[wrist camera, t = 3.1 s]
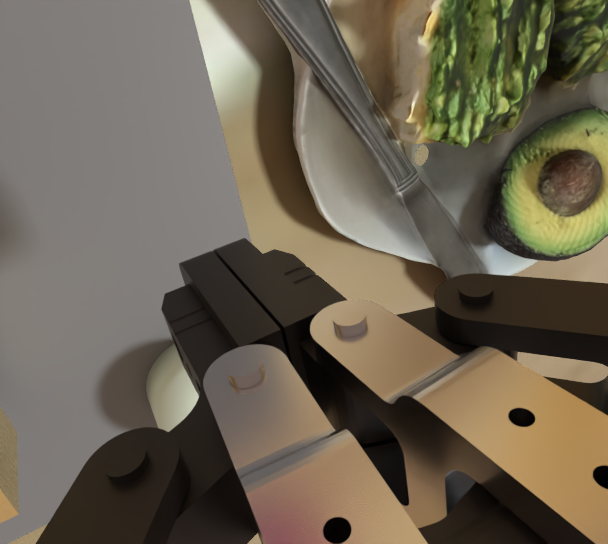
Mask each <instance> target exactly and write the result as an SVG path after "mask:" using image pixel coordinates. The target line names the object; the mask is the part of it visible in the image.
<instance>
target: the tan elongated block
mask: <svg viewBox="0 0 608 544" xmlns="http://www.w3.org/2000/svg"><path fill="white" fill-rule="evenodd" d="M18 514H19V505H18V460H17V431H16V430H15V428H14V426H13V425H12V423H11V422H10V420H9V419H8V417H7V416H6V414H5V413H4V411H3V410H2V408H1V407H0V523H2V522H4V521H6V520H8V519H10V518H12V517H14V516H16V515H18Z"/></svg>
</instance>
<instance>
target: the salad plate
mask: <svg viewBox="0 0 608 544" xmlns="http://www.w3.org/2000/svg"><path fill="white" fill-rule="evenodd" d="M257 2H258V3H259V5H260V7H261V8H262V9H263V11H264V12H265V14H266V15H267V17H268V18H269V20H270V21H271V22H272V24H273V25H274V27H275V28H276V30H277V32H278V33H279V34H280V36H281V37H282V39H283V40H284V42H285V43H286V45H287V47H288V49H289V51H290V53H291V57H292V62H293V68H294V73H295V80H294V108H293V113H294V114H293V138H294V144H295V147H296V150H297V152H298V155H299V159H300V163H301V166H302V170H303V173H304V176H305V179H306V182H307V185H308V187H309V189H310V192H311V194H312V196H313V198H314V202H315V205H316V208H317V210H318V212H319V213H320V214H321V215H322V216H323V217H324V218H325V219H326V220H327V222H328V223H329V224H330V225H331V226H332V227H333V228H334V229H335V230H336V231H337V232H338V233H340V234H342V235H344V236H346V237H347V238H349V239H351V240H353V241H355V242H357V243H359V244H362V245H364V246H367V247H369V248H373V249H375V250H380V251H384V252H386V253H390V254H394V255H396V256H400V257H404V258H406V259H409V260H413V261H418V262H422V263H428V264H433V265H435V266H437V267H439V268H441V269H442V271H443V272H444V274H445V275H446V278H447V280H448V279H450V278H452V277H455V276H459V275H463V274H472V273H481V274H494V275H507V276H512V275H514V274H516V273H518V272H520V271H522V270H524V269H526V268H528V267H530V266H531V265H533V264H534V263H536V262H537V261H539V260H545V261H559V260H565V259H569V258H571V257H574V256H578V255H580V254H582V253H585V252H587V251H589V250H591V249H592V248H593V247H594V246H596V245H597V244H598V243H599V242H601V241H602V240H603V239H604V238H605V237H606V236H608V0H257ZM422 144H424V145H426V146H427V148H428V150H429V154H428V159H427V160H426V162H425V163H424V164H423V165H422V166H418V165H417V164H416V163H415V160H414V156H415V153H416V151H417V149H418V148H419V147H420V146H421V145H422Z"/></svg>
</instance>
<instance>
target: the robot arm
mask: <svg viewBox="0 0 608 544" xmlns="http://www.w3.org/2000/svg"><path fill="white" fill-rule="evenodd" d="M179 268H180V271H181V275H182V278H183V280H184V283H185V286H183V287H180V288H178V289H175V290H173V291H170V292H168V293H165V295H164V299H163V304H162V308H161V310H162V312H163V315H164V318H165V320H166V323H167V325H168V328H169V331H170V333H171V336H172V338H173V341H174V344H175V346H176V349H177V351H178V354H179V357H180V359H181V362H182V364H183V367H184V368H185V370H186V372H187V374H188V376H189V378H190V380H191V382H192V384H193V386H194V388H195V390H196V392H197V393H198V396H199V398H198V401H197V403H196V405H195V406H194V408H193V409H192V411H191V412H190V413H189V414H188V415H187V417H186V418H185V419H184V420H182V421H181V422H180V423H179V424H178V425H177V426H175V427H174V428H173V429H172V430H171V431H169V432H167V431H165V430H163V429H159V428H154V427H143V428H137V429H133V430H130V431H126V432H124V433H122V434H119V435H117V436H116V437H114V438H112V439H110V440H109V441H107V442H106V443H105V444H103V445H102V446H101V447H100V448H99V449H97V450H96V451H95V452H94V453H93V455H92V456H91V457H90V458H89V459H88V461H87V462H86V463H85V465H84V466H83V468H82V470H81V471H80V473H79V475H78V476H77V478H76V479H75V481H74V483H73V484H72V486H71V487H70V489H69V491H68V492H67V494H66V496H65V497H64V499H63V500H62V502H61V504H60V505H59V507H58V509H57V510H56V512H55V513H54V515H53V517H52V518H51V520H50V521H49V523H48V525H47V526H46V528H45V530H44V531H43V533H42V534H41V536H40V538H39V539H38V541H37V543H36V544H247V543H248V542H249V541H250V540H251V539H252V538H253V537H254V536H255V535H256V534H257V533H258V535H259V538H260V540H261V543H262V544H608V376H607V377H606V378H605V379H604V380H602V381H600V382H596V383H583V382H576V381H569V380H563V379H556V378H550V377H543V376H541V375H539V374H537V373H536V372H534V371H532V370H531V369H529V368H527V367H526V366H524V365H522V364H521V363H519V362H517V351H518V352H525V353H532V354H539V355H547V356H554V357H561V358H569V359H576V360H583V361H591V362H597V363H600V364H603V365H606V366H608V284H606V283H594V282H581V281H569V280H557V279H544V278H532V277H519V276H507V275H494V274H481V273H472V274H463V275H459V276H455V277H452V278H450V279H448V280H446V281H444V282H443V283H442V284H440V285H439V286H438V288H437V289H436V291H435V294H434V300H435V307H431V308H427V309H422V310H418V311H413V312H409V313H404V314H398V315H395V314H393V313H392V312H390V311H389V310H387V309H386V308H384V307H383V306H381V305H379V304H377V303H375V302H372V301H367V300H347V299H346V298H344V297H343V296H342V295H341V294H340V293H339V292H337V291H336V290H335V289H334V288H333V287H331V286H330V285H329V284H328V283H327V282H325V281H324V280H323V279H322V278H321V277H319V276H318V275H317V276H316V274H315V272H314V271H312V270H311V269H310V268H309V267H306V265H305V264H304V263H303V262H302V261H300V260H299V259H298V258H297V257H296V256H295V255H293V254H289V253H286V252H282V251H279V250H275V249H274V250H272V251H269V252H267V253H264V254H262V253H261V252H260V251H259V250H258V249H257V248H256V247H255V246H253V245H252V244H251V243H250V242H249V241H248V240H247V239H246V238H243V239H240V240H237V241H235V242H232V243H230V244H227V245H224V246H222V247H219V248H217V249H214V250H213V252H212V251H209V252H207V253H204V254H202V255H199V256H196V257H194V258H191V259H189V260H186V261H183V262H181V263H179Z"/></svg>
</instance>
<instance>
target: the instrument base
mask: <svg viewBox="0 0 608 544" xmlns="http://www.w3.org/2000/svg"><path fill="white" fill-rule="evenodd" d="M243 238H246V239H247V240H248V241H249V242H250V243H251V239H250V235H249V232H248V228H247V224H246V220H245V216H244V212H243V208H242V204H241V200H240V197H239V193H238V189H237V185H236V181H235V177H234V173H233V169H232V165H231V161H230V158H229V154H228V150H227V146H226V142H225V138H224V134H223V130H222V126H221V123H220V119H219V115H218V111H217V107H216V103H215V99H214V95H213V91H212V88H211V84H210V80H209V76H208V72H207V68H206V64H205V60H204V56H203V53H202V49H201V45H200V41H199V37H198V33H197V29H196V25H195V21H194V18H193V14H192V10H191V6H190V2H189V0H0V407H1V408H2V410H3V411H4V413H5V414H6V416H7V417H8V419H9V420H10V422H11V423H12V425H13V426H14V428H15V430H16V431H17V460H18V505H19V514H18V515H16V516H14V517H12V518H10V519H8V520H6V521H4V522H2V523H0V544H8V543H10V542H12V541H14V540H16V539H18V538H20V537H22V536H24V535H26V534H28V533H30V532H32V531H34V530H36V529H38V528H40V527H42V526H44V525H46V524H48V523H49V521H50V520H51V518H52V517H53V515H54V513H55V512H56V510H57V509H58V507H59V505H60V504H61V502H62V500H63V499H64V497H65V496H66V494H67V492H68V491H69V489H70V487H71V486H72V484H73V483H74V481H75V479H76V478H77V476H78V475H79V473H80V471H81V470H82V468H83V466H84V465H85V463H86V462H87V461H88V459H89V458H90V457H91V456H92V455H93V453H94V452H95V451H96V450H97V449H99V448H100V447H101V446H102V445H103V444H105V443H106V442H107V441H109V440H110V439H112V438H114V437H116V436H117V435H119V434H122V433H124V432H126V431H130V430H133V429H137V428H143V427H154V428H159V429H163V430H165V431H167V432H169V431H171V430H172V429H173V428H174V427H175V426H177V425H178V424H179V423H180V422H181V421H182V420H184V419H185V418H186V417H187V415H188V414H189V413H190V412H191V411H192V409H193V408H194V406H195V405H196V403H197V401H198V398H199V396H198V393H197V392H196V390H195V388H194V386H193V384H192V382H191V380H190V378H189V376H188V374H187V372H186V370H185V368H184V367H183V364H182V362H181V359H180V357H179V354H178V351H177V349H176V346H175V344H174V341H173V338H172V336H171V333H170V331H169V328H168V325H167V323H166V320H165V318H164V315H163V312H162V310H161V308H162V304H163V299H164V295H165V293H168V292H170V291H173V290H175V289H178V288H180V287H183V286H185V283H184V280H183V278H182V275H181V271H180V268H179V263H181V262H183V261H186V260H189V259H191V258H194V257H196V256H199V255H202V254H204V253H207V252H209V251H212V252H213V250H214V249H217V248H219V247H222V246H224V245H227V244H230V243H232V242H235V241H237V240H240V239H243ZM251 244H252V243H251Z"/></svg>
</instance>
